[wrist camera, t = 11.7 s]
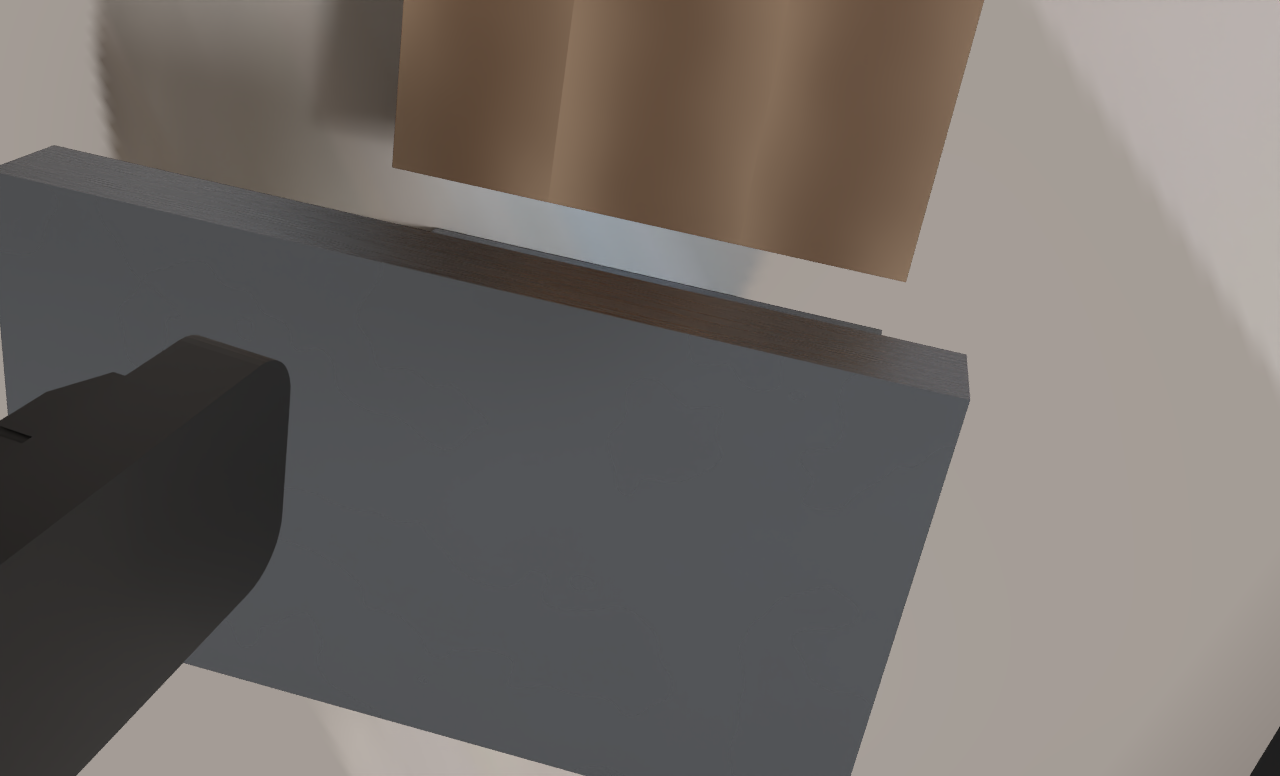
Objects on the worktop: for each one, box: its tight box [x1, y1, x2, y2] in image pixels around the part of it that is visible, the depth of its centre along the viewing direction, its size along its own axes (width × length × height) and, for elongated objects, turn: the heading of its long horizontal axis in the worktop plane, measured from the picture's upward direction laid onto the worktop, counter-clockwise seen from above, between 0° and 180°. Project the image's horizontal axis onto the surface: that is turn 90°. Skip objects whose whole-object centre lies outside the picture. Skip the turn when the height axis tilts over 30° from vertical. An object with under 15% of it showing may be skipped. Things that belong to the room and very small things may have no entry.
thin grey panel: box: [0, 146, 970, 776], centre depth 27 cm, size 14×8×20 cm, turn 81°
